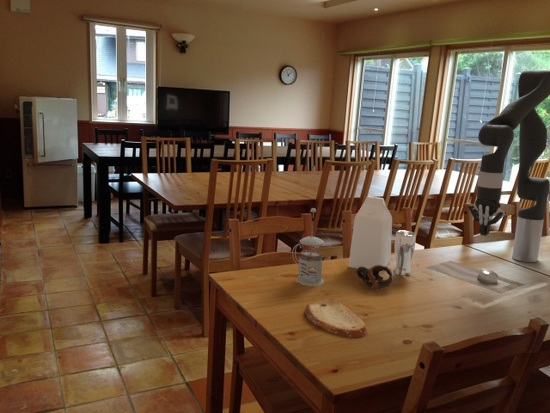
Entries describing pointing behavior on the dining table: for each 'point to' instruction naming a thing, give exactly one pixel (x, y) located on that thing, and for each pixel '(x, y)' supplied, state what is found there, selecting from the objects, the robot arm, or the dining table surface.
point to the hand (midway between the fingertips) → (483, 235)
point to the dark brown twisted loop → (375, 276)
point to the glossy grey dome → (487, 276)
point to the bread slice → (335, 318)
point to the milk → (371, 235)
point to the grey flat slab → (471, 275)
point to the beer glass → (404, 252)
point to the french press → (310, 261)
